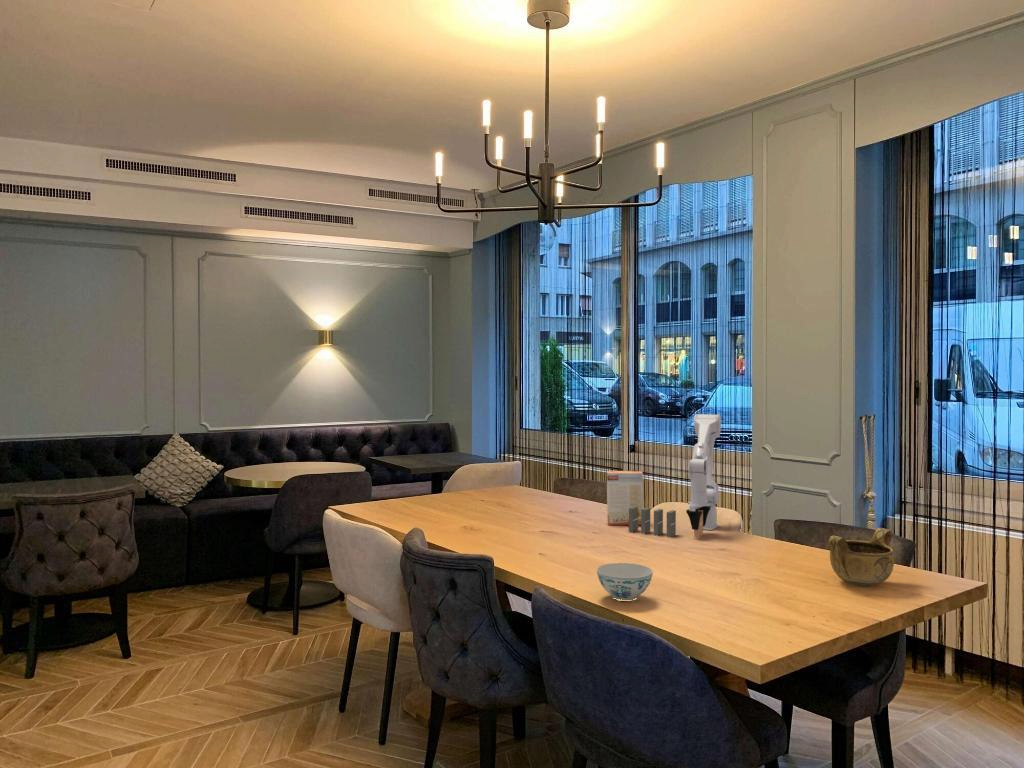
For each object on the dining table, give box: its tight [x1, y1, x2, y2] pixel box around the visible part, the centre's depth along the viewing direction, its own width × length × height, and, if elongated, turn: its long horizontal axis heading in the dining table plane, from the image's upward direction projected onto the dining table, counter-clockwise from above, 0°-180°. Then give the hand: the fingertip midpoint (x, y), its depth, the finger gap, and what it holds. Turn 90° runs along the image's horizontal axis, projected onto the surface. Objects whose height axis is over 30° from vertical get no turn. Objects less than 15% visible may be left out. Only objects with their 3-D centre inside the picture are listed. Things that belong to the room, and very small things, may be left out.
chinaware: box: [596, 562, 654, 600], centre depth 208 cm, size 15×15×8 cm
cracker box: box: [606, 470, 644, 526], centre depth 304 cm, size 14×6×21 cm, turn 84°
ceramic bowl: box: [828, 527, 895, 588], centre depth 220 cm, size 22×17×15 cm
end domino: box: [628, 506, 639, 533], centre depth 292 cm, size 5×2×9 cm, turn 147°
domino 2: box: [653, 508, 664, 536], centre depth 286 cm, size 5×2×9 cm, turn 147°
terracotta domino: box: [693, 510, 704, 538], centre depth 284 cm, size 5×2×9 cm, turn 147°
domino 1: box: [640, 507, 651, 534], centre depth 289 cm, size 5×2×9 cm, turn 147°
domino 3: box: [666, 509, 677, 538], centre depth 284 cm, size 5×2×9 cm, turn 147°
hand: (698, 527), depth 284 cm, fingers open, 7 cm apart
